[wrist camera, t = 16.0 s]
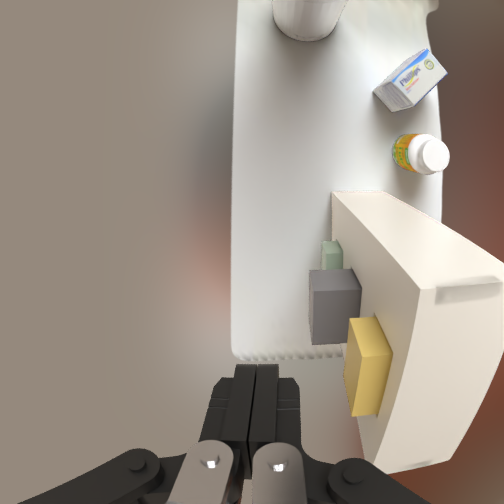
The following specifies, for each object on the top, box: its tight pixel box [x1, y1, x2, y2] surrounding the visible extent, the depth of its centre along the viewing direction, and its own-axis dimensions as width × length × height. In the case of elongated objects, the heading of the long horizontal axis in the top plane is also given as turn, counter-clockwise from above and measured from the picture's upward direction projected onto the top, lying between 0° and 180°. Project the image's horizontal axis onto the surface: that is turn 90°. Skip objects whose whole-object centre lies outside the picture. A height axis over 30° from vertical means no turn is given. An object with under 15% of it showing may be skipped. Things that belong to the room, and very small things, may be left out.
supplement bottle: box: [392, 134, 449, 175], centre depth 37 cm, size 5×5×10 cm
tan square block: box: [343, 317, 393, 417], centre depth 22 cm, size 6×6×5 cm
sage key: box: [321, 241, 343, 270], centre depth 41 cm, size 6×6×5 cm
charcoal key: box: [309, 269, 362, 345], centre depth 32 cm, size 6×6×5 cm
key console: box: [331, 191, 504, 474], centre depth 32 cm, size 18×8×32 cm, turn 4°
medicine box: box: [373, 48, 448, 112], centre depth 34 cm, size 8×4×9 cm, turn 137°
